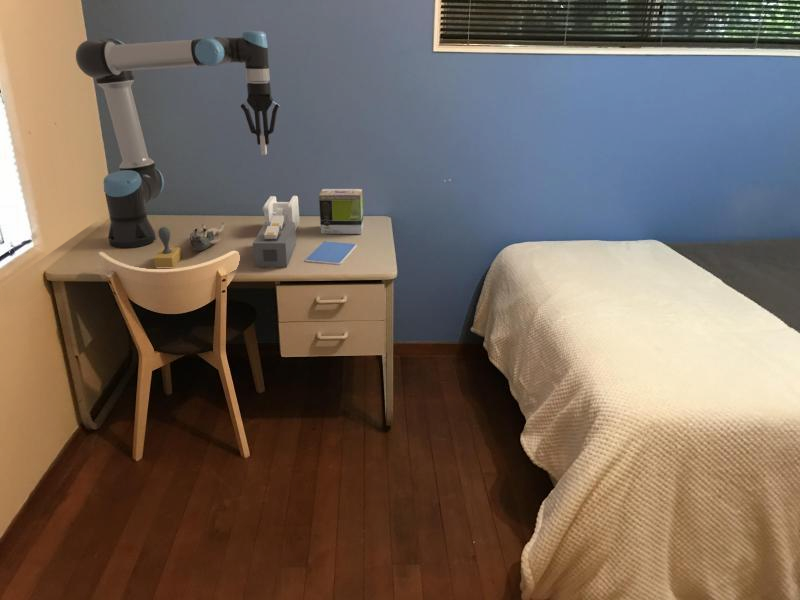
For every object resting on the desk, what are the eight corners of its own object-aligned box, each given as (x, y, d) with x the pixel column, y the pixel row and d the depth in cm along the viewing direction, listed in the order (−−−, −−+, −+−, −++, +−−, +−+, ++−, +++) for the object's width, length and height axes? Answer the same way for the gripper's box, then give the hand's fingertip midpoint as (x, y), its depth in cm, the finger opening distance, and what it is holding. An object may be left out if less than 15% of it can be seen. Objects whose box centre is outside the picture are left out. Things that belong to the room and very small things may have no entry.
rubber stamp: (174, 268, 191) (168, 231, 186) (154, 269, 190) (148, 232, 185) (182, 257, 200) (177, 222, 195) (163, 257, 199) (158, 222, 194)
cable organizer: (293, 236, 220) (291, 205, 215) (264, 236, 220) (261, 205, 215) (300, 224, 234) (298, 194, 229) (272, 224, 234) (269, 194, 229)
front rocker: (264, 239, 191) (264, 234, 191) (268, 230, 197) (267, 225, 196) (276, 239, 192) (275, 234, 191) (279, 230, 197) (278, 225, 196)
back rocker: (270, 229, 201) (269, 225, 200) (273, 219, 206) (272, 215, 205) (281, 229, 201) (281, 225, 200) (284, 219, 206) (283, 215, 205)
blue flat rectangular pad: (340, 267, 195) (340, 263, 194) (303, 263, 198) (303, 259, 197) (358, 247, 212) (357, 243, 212) (323, 244, 215) (323, 240, 214)
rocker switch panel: (254, 268, 192) (252, 243, 188) (267, 244, 212) (265, 221, 209) (286, 268, 192) (285, 243, 189) (296, 244, 212) (294, 221, 209)
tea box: (363, 226, 232) (363, 188, 226) (361, 235, 223) (360, 195, 217) (323, 226, 232) (322, 187, 226) (320, 234, 223) (318, 194, 217)
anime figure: (226, 217, 225) (210, 232, 197) (227, 237, 227) (212, 254, 199) (199, 218, 224) (179, 233, 196) (201, 238, 226) (182, 255, 198)
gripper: (280, 81, 206) (284, 152, 216) (241, 80, 206) (247, 151, 216) (276, 83, 199) (281, 156, 209) (236, 82, 199) (243, 156, 209)
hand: (264, 154), depth 212 cm, fingers closed
